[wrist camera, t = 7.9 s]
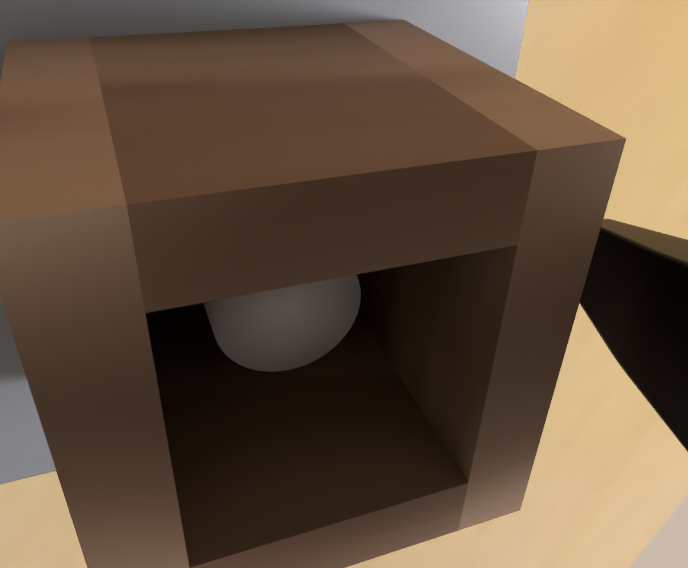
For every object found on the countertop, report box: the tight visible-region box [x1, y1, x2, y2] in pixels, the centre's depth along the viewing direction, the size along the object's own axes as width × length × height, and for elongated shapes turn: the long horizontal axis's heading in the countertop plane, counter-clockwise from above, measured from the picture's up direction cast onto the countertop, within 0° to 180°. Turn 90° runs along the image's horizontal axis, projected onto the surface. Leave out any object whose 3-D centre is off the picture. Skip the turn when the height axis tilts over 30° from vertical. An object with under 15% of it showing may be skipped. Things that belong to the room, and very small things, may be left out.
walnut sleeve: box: [0, 20, 626, 568], centre depth 9 cm, size 6×6×5 cm
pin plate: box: [0, 0, 529, 484], centre depth 10 cm, size 10×10×4 cm
